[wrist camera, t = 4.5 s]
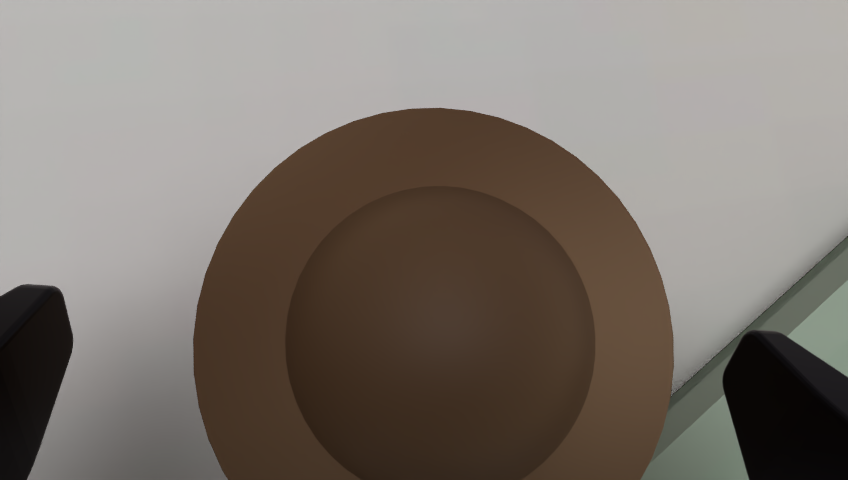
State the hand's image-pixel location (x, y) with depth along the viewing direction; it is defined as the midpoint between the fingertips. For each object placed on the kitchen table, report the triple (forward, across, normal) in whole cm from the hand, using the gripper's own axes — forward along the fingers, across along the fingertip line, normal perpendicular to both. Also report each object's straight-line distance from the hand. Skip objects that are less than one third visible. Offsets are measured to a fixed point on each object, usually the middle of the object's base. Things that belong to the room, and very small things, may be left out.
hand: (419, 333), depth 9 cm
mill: (+5, 0, +6) cm, 8 cm away
